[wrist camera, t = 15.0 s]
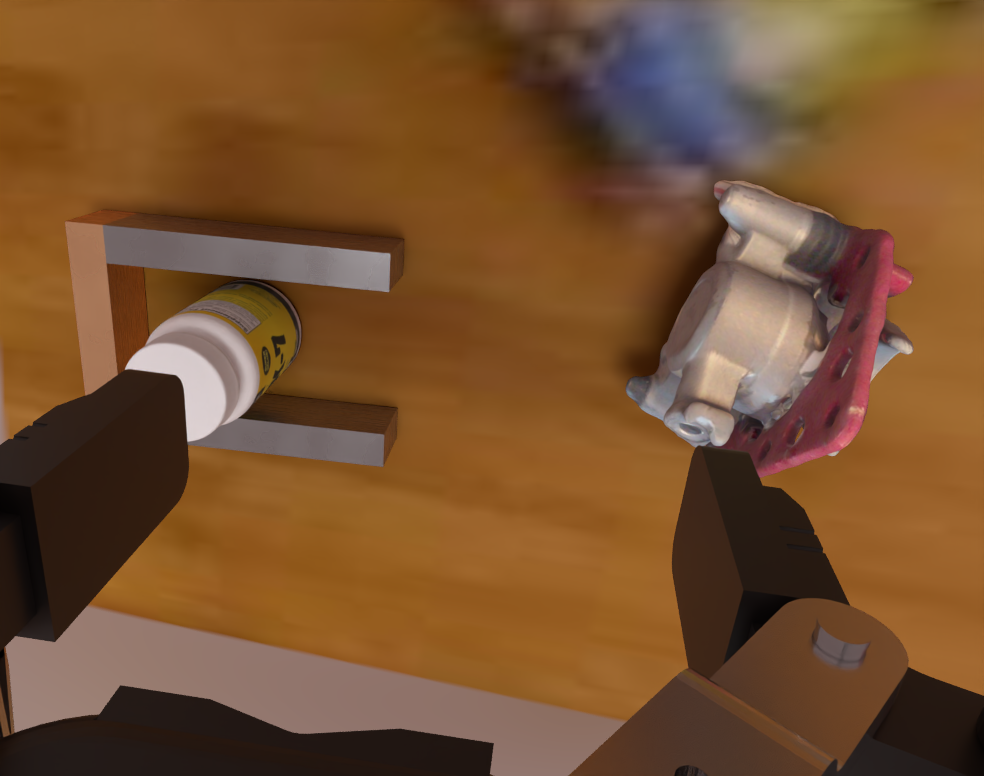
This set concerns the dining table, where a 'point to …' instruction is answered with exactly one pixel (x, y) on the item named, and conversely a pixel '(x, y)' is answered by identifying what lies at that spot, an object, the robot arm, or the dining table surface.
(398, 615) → the dining table surface
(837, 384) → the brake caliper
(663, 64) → the dining table surface
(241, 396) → the supplement bottle
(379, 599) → the dining table surface
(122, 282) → the frame
